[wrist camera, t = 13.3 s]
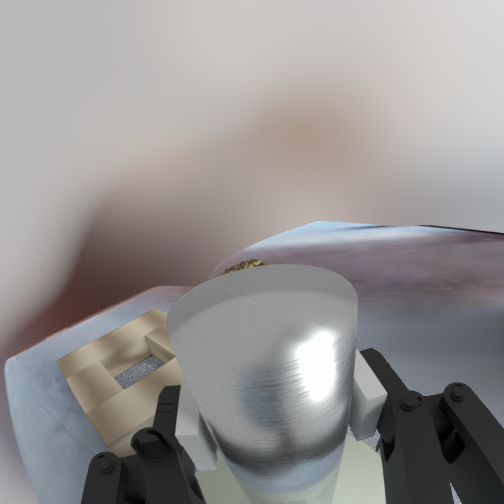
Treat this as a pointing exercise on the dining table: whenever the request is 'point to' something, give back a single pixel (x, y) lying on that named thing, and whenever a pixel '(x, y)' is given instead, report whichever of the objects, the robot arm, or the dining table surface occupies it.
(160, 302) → the dining table surface
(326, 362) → the canister
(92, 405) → the holder block
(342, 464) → the coaster
